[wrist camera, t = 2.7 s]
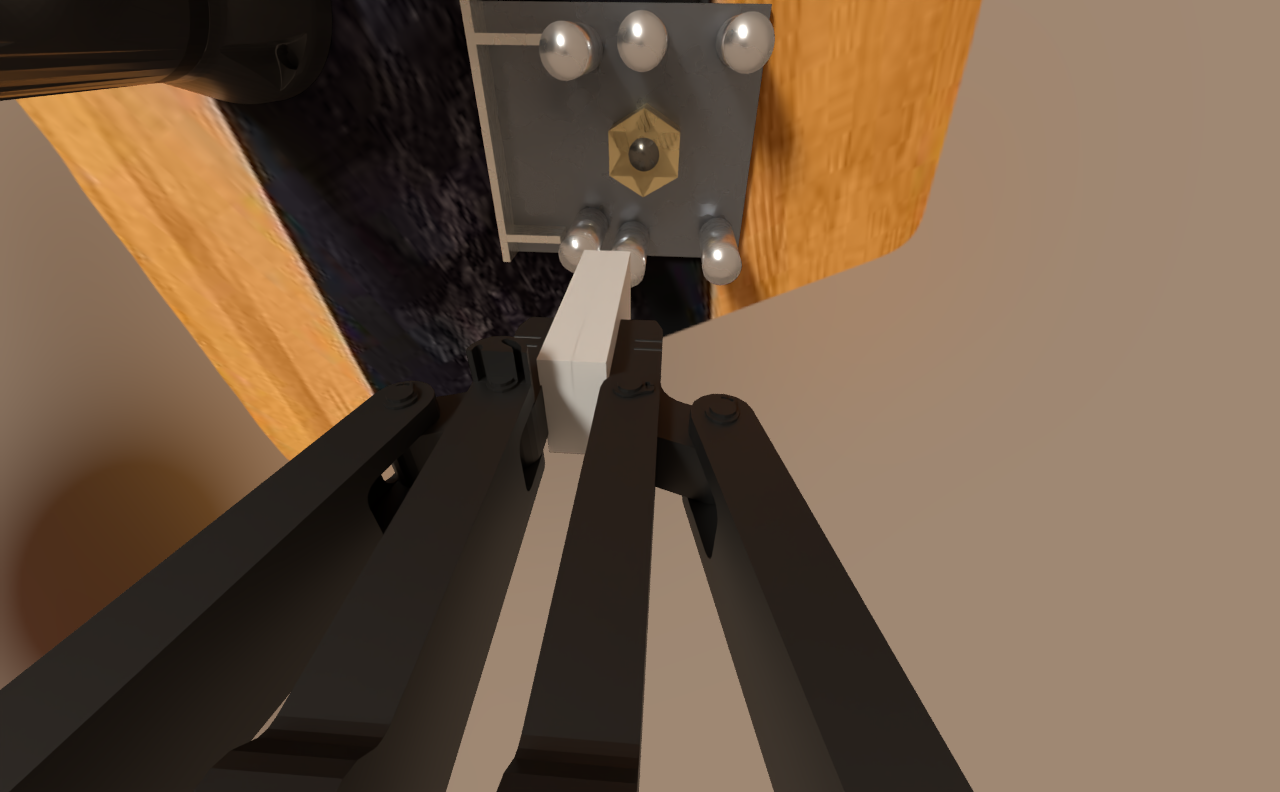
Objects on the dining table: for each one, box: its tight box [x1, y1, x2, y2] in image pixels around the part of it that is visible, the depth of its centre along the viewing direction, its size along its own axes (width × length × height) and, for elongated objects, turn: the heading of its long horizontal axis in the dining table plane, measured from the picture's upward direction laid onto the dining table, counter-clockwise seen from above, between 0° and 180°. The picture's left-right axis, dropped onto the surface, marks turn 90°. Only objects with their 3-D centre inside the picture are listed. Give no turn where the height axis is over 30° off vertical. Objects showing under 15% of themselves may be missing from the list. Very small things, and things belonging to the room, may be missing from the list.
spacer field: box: [460, 0, 775, 287], centre depth 34 cm, size 20×17×8 cm
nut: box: [608, 103, 680, 197], centre depth 35 cm, size 5×6×3 cm
